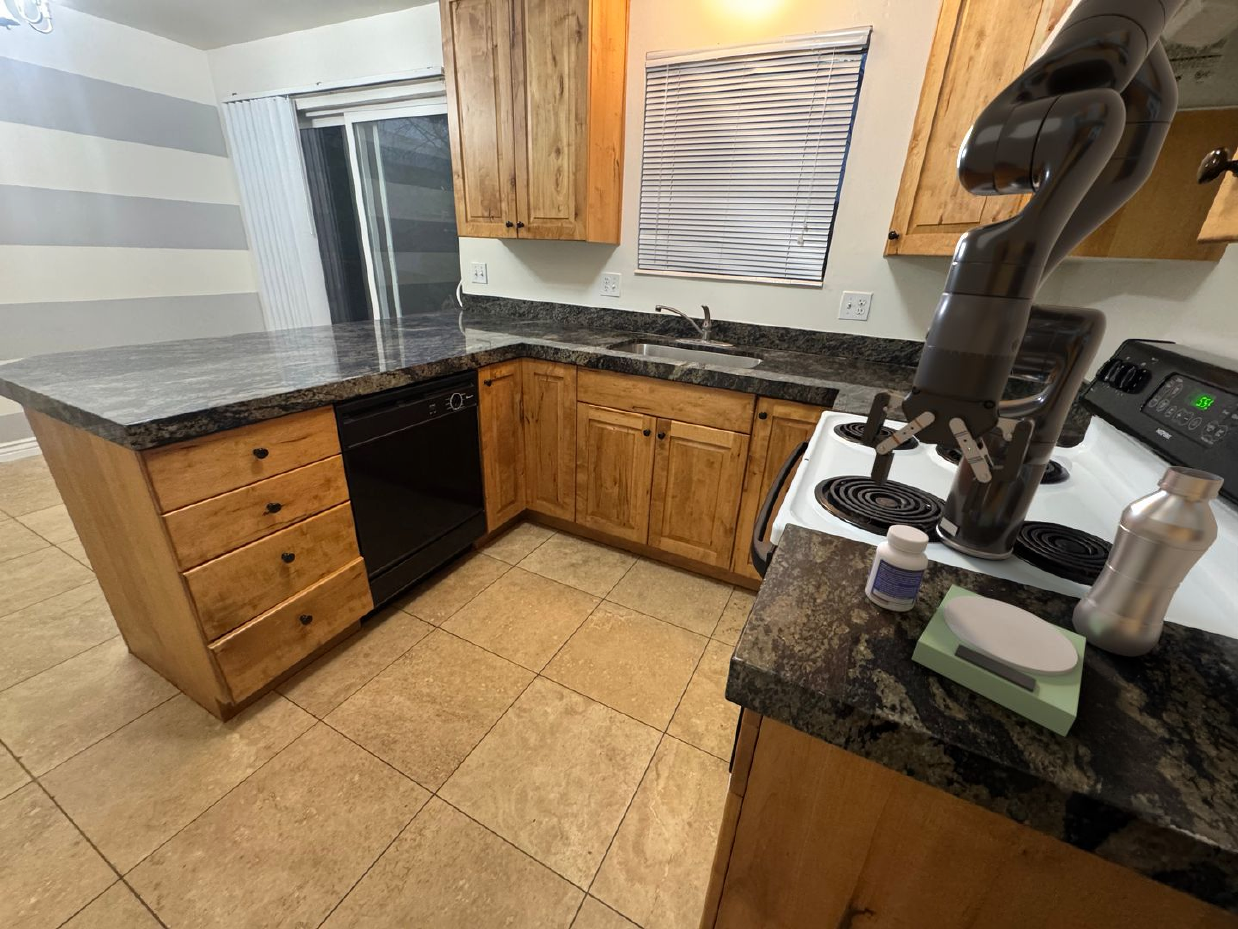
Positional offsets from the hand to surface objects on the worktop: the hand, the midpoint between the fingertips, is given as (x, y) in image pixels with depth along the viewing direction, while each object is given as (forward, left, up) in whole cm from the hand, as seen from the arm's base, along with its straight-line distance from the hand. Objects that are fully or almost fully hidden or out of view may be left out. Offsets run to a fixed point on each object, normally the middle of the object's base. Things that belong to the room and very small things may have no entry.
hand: (920, 497), depth 54 cm
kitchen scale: (+2, +11, -13) cm, 17 cm away
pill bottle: (0, 0, -14) cm, 14 cm away
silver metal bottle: (-10, +19, -14) cm, 25 cm away
